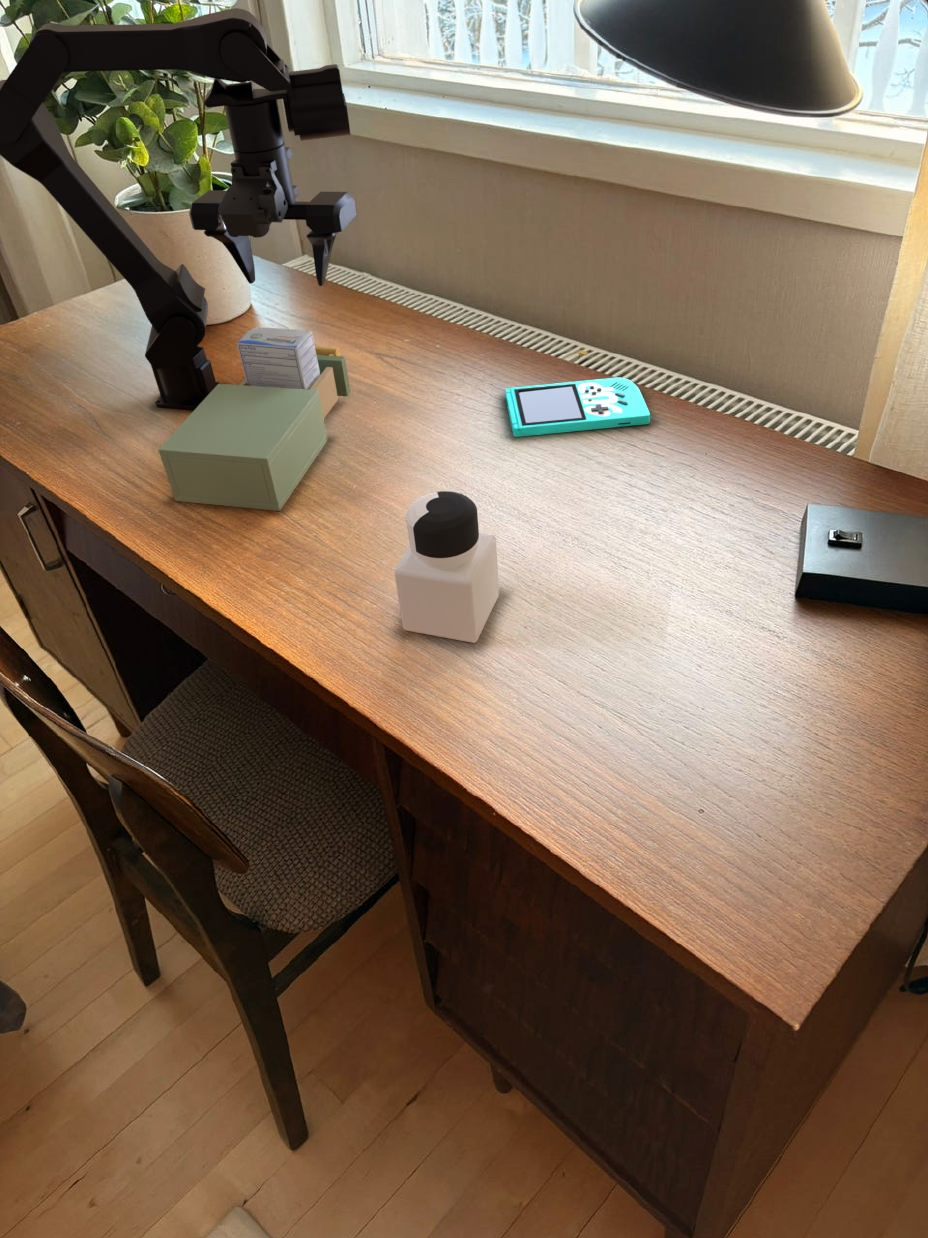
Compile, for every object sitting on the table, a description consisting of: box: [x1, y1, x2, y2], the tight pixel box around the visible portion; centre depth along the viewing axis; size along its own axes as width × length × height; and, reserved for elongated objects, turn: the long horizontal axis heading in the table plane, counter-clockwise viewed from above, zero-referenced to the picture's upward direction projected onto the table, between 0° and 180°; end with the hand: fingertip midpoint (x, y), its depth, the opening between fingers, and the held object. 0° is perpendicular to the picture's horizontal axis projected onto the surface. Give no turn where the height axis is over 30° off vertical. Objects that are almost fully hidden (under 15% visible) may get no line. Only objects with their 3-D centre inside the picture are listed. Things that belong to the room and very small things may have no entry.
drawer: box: [237, 346, 351, 419], centre depth 115 cm, size 18×11×5 cm, turn 165°
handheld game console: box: [504, 377, 651, 438], centre depth 112 cm, size 10×16×1 cm, turn 94°
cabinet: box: [158, 383, 329, 512], centre depth 106 cm, size 15×13×7 cm
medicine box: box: [236, 326, 320, 390], centre depth 112 cm, size 8×4×9 cm, turn 72°
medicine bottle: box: [394, 490, 500, 644], centre depth 83 cm, size 7×7×12 cm
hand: (286, 283), depth 115 cm, fingers open, 9 cm apart
